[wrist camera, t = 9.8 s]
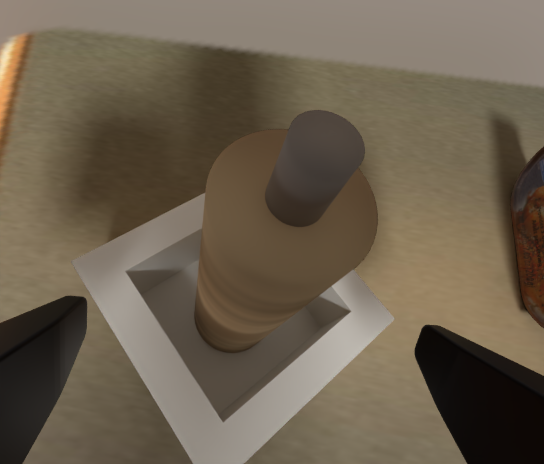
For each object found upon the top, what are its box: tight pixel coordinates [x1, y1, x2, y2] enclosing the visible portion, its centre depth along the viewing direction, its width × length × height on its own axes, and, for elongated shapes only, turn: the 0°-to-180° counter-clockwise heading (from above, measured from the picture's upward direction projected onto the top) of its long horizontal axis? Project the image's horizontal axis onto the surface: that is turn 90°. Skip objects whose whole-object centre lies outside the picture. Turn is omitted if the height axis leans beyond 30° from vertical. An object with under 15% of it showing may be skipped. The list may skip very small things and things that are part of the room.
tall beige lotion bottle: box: [194, 110, 378, 353], centre depth 12 cm, size 4×4×14 cm
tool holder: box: [71, 193, 394, 464], centre depth 17 cm, size 10×10×4 cm
